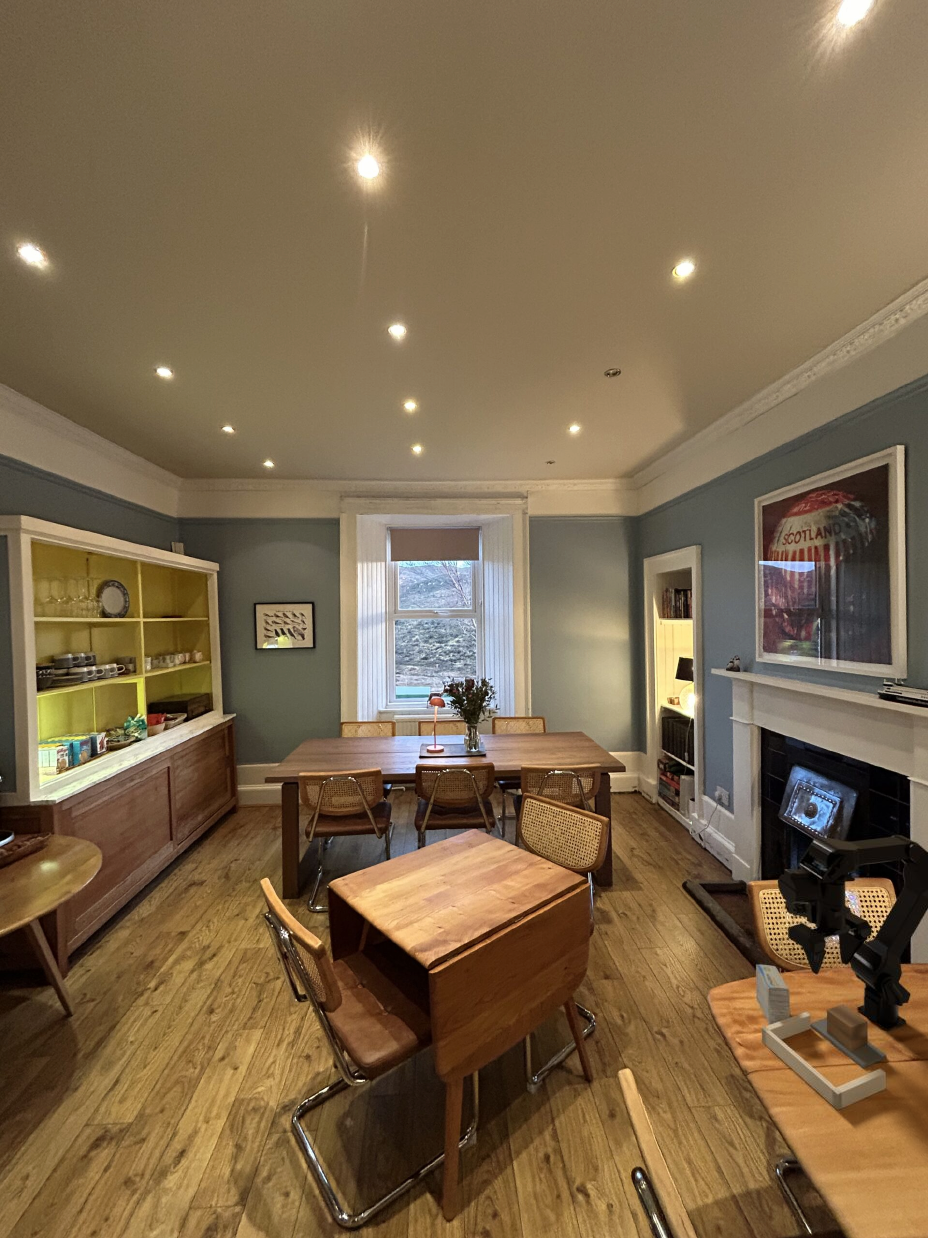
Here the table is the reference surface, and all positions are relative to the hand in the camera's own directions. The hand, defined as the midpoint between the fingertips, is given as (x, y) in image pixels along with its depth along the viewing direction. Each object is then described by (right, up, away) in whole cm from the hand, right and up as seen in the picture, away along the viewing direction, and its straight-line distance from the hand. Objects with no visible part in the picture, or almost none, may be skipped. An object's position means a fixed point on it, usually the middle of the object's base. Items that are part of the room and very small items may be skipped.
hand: (829, 968), depth 114 cm
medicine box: (-11, -12, +3) cm, 17 cm away
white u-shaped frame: (-9, -12, -11) cm, 19 cm away
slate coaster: (0, -12, -5) cm, 13 cm away
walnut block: (0, -12, -5) cm, 13 cm away
